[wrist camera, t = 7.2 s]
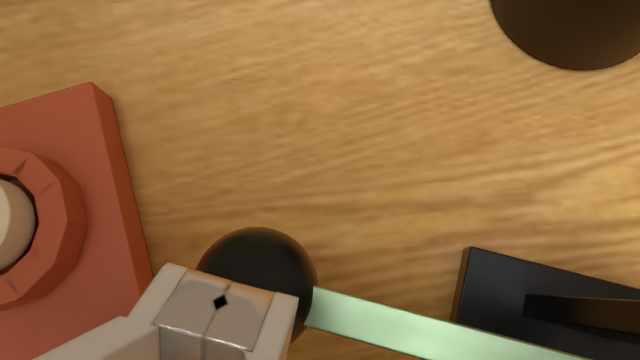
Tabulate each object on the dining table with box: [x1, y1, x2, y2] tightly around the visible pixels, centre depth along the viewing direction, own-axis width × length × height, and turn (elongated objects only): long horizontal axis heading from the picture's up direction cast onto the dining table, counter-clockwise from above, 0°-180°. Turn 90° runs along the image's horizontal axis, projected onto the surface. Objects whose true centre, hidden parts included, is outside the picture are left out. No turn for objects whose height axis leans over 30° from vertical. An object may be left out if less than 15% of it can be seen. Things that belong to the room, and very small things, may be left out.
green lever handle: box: [196, 227, 593, 360], centre depth 13 cm, size 16×4×4 cm, turn 75°
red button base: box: [0, 82, 153, 360], centre depth 22 cm, size 12×10×4 cm
